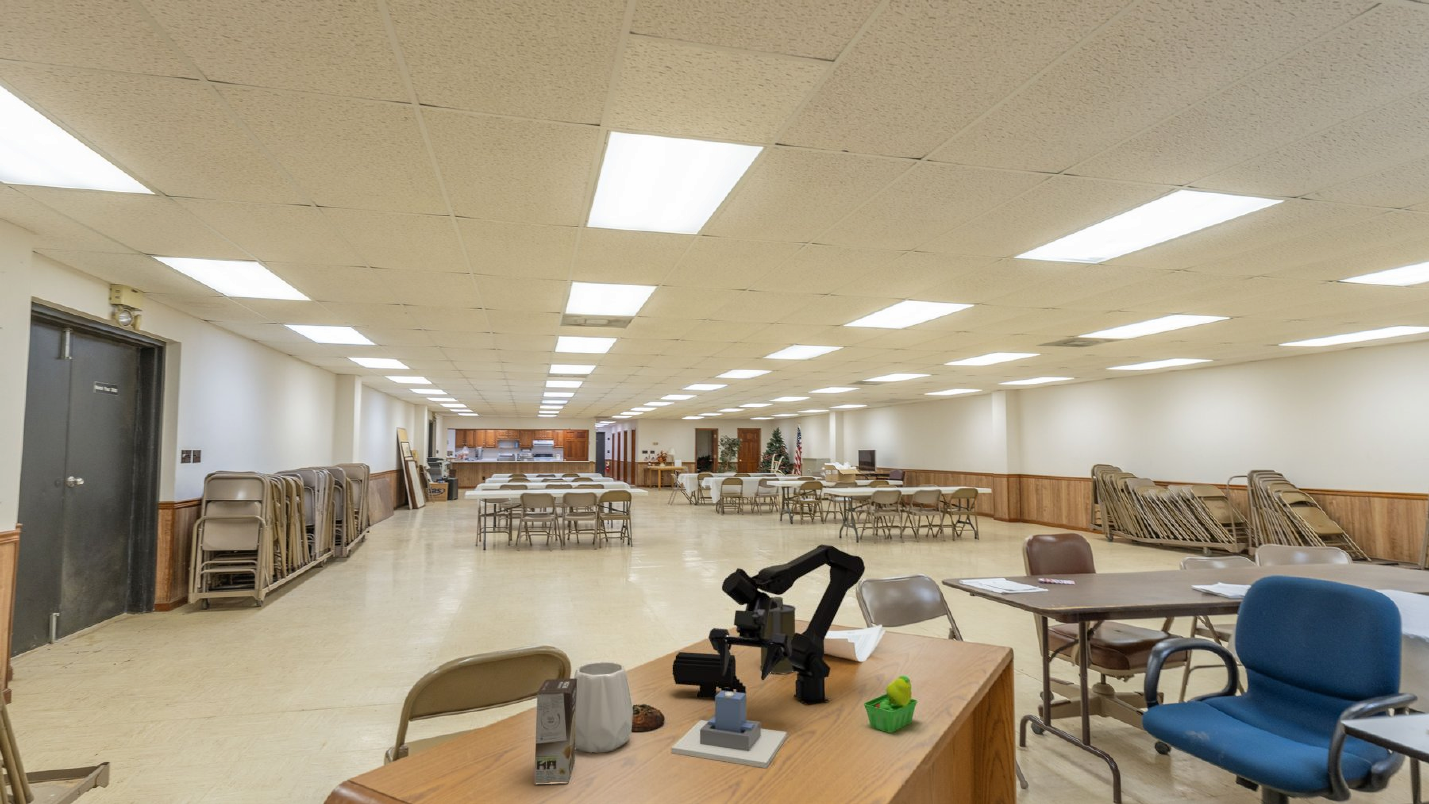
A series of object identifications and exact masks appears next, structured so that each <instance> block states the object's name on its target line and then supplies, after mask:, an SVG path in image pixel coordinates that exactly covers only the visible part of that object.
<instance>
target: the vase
mask: <svg viewBox="0 0 1429 804" xmlns="http://www.w3.org/2000/svg"><path fill="white" fill-rule="evenodd" d="M575 678H576V679H577V696H576V736H575V748H576V749H575V750H578V749H579V750H578V751H581V750H582V751H581V752H584V751H585V752H584V753H588V752H589V754H593V753H592V752H599V753H605V752H606V753H607V752H612V751H614V750H616V749H617V748H620V747H621V746H623V745H624V744H626V743H627V742H628V741H629V737H630V735H631V733H632V732H631V730H632V719H633V708H632V706H633V703H632V697H631V693H630V686H629V682H628V677H627V673H626V670H625V665H622V664H621V663H618V662H614V661H613V662H612V661H599V662H598V661H596V662H589V663H584V664H583V665H580V666H578V667H577V668H576V669H575V671H574V678H573V679H575Z"/></svg>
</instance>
